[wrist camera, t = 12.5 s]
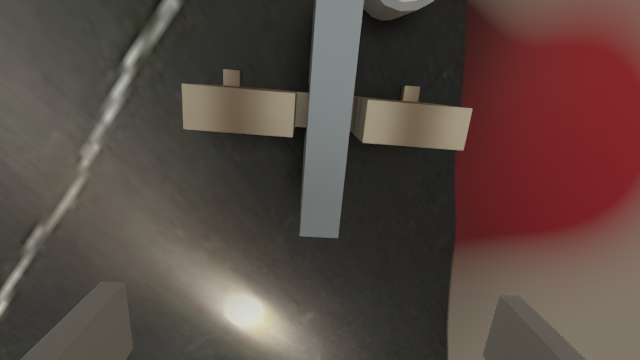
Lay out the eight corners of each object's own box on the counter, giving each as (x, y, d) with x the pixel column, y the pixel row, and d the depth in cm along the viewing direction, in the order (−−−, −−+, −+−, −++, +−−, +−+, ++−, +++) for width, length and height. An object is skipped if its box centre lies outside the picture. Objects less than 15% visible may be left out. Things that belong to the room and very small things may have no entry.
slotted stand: (225, 128, 33) (184, 150, 22) (225, 69, 31) (180, 59, 20) (407, 142, 35) (459, 170, 23) (416, 87, 33) (477, 86, 21)
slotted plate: (327, 189, 36) (338, 238, 24) (301, 188, 35) (299, 236, 24) (343, 17, 31) (366, -25, 19) (313, 14, 30) (318, -30, 19)
